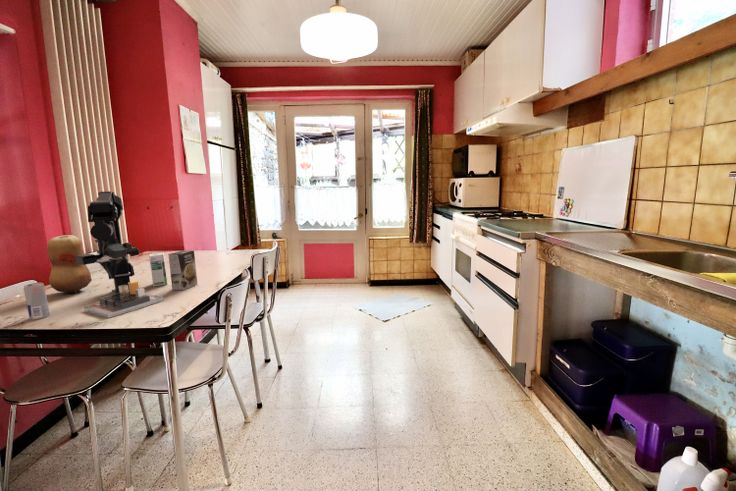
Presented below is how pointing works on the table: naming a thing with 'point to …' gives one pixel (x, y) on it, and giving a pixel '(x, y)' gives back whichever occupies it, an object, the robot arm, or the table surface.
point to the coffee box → (182, 270)
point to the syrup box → (158, 269)
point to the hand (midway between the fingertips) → (112, 277)
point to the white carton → (36, 301)
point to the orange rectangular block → (133, 286)
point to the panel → (122, 302)
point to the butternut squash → (67, 264)
